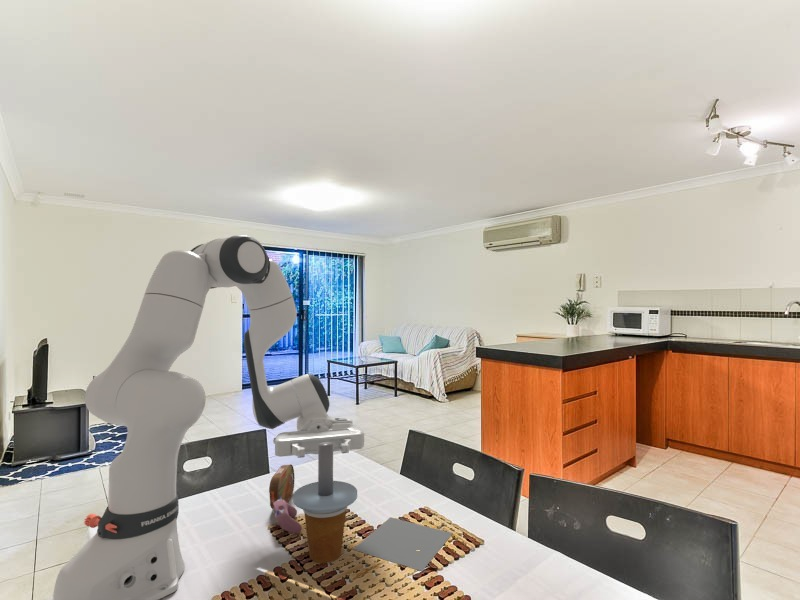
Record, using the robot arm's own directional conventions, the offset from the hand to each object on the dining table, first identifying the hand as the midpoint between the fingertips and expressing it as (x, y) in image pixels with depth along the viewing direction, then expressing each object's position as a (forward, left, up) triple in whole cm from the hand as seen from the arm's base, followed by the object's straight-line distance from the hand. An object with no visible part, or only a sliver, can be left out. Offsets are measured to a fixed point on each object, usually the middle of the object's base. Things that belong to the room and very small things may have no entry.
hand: (323, 451), depth 93 cm
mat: (+9, -15, -20) cm, 26 cm away
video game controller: (+3, +13, -20) cm, 24 cm away
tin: (+12, +23, -20) cm, 33 cm away
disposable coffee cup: (-3, -3, -20) cm, 21 cm away
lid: (-3, -3, -8) cm, 9 cm away
